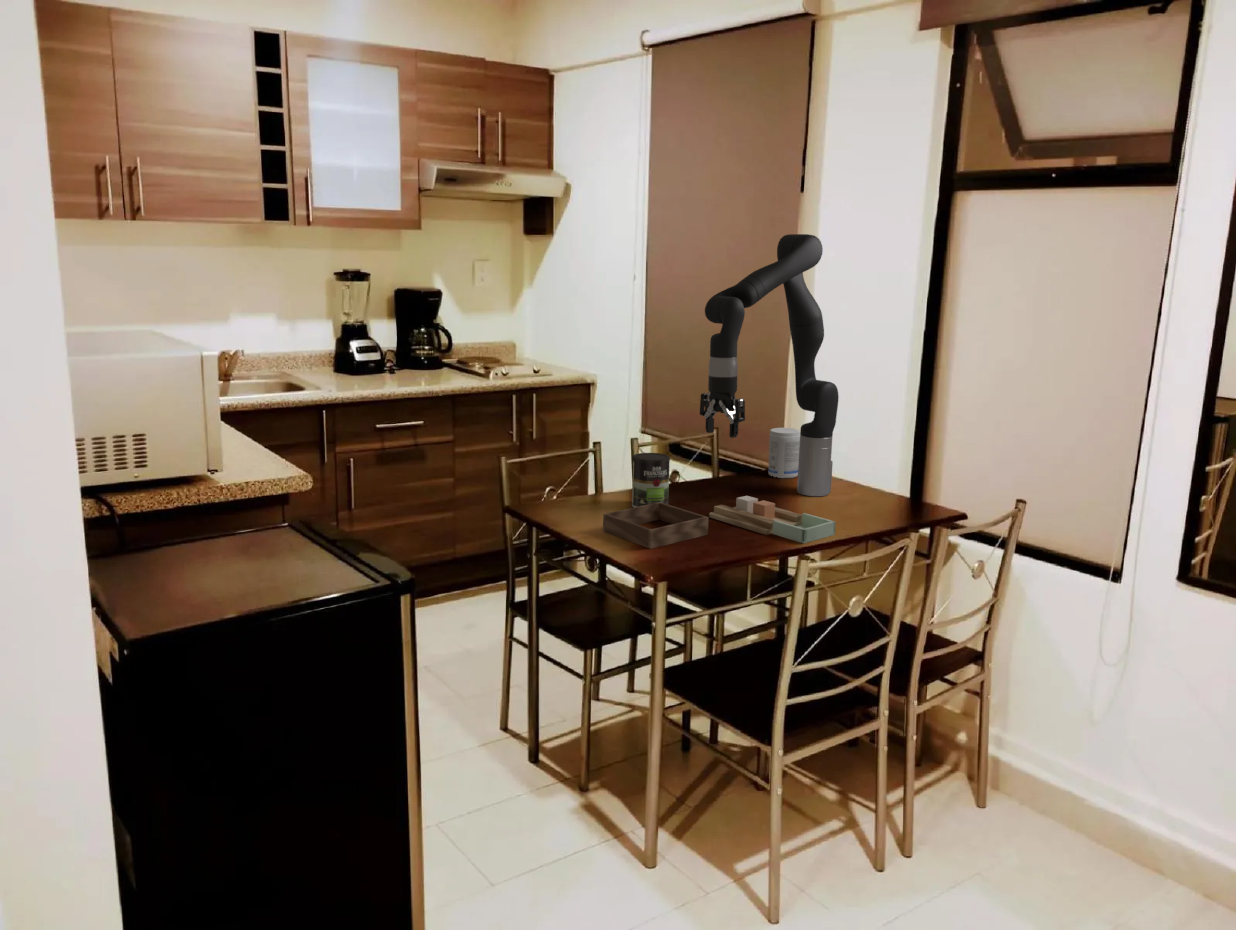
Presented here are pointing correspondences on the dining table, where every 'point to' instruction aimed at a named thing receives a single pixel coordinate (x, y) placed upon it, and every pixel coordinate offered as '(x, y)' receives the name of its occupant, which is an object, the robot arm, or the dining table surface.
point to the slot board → (749, 525)
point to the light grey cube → (745, 503)
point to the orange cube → (764, 509)
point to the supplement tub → (784, 452)
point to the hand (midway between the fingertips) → (721, 434)
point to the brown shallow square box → (680, 530)
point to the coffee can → (650, 479)
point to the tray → (805, 529)
